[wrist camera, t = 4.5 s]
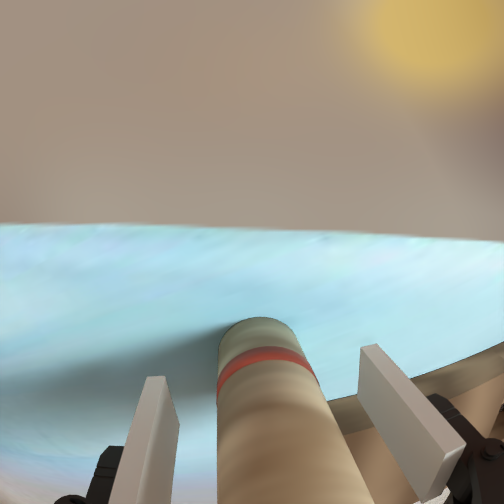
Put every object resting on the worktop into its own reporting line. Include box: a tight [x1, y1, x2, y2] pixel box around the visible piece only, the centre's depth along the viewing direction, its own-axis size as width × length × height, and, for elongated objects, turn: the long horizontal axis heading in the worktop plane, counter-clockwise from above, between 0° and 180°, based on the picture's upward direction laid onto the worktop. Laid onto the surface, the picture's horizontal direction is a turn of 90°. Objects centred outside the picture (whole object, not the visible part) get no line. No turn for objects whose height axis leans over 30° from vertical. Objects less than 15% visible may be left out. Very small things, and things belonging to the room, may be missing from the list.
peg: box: [216, 317, 375, 504], centre depth 8 cm, size 4×4×14 cm
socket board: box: [327, 342, 504, 504], centre depth 17 cm, size 22×12×3 cm, turn 96°
